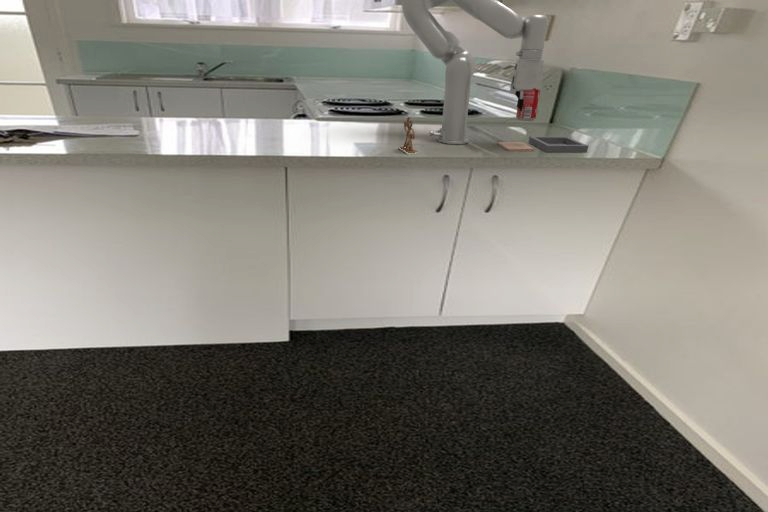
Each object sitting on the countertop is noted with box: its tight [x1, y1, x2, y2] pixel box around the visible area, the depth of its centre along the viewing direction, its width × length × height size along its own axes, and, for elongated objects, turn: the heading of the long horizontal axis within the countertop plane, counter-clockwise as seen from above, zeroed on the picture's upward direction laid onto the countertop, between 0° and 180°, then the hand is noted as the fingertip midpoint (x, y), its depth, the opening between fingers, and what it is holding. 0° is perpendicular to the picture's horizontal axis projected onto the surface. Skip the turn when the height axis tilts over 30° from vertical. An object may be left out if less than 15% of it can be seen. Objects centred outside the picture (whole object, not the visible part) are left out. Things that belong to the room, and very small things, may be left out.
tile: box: [497, 141, 534, 152], centre depth 161 cm, size 10×11×1 cm
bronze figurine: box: [399, 116, 418, 153], centre depth 148 cm, size 9×4×12 cm, turn 21°
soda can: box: [515, 88, 541, 122], centre depth 155 cm, size 7×7×13 cm
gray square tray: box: [528, 136, 589, 153], centre depth 163 cm, size 16×16×2 cm
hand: (521, 110), depth 155 cm, fingers closed
